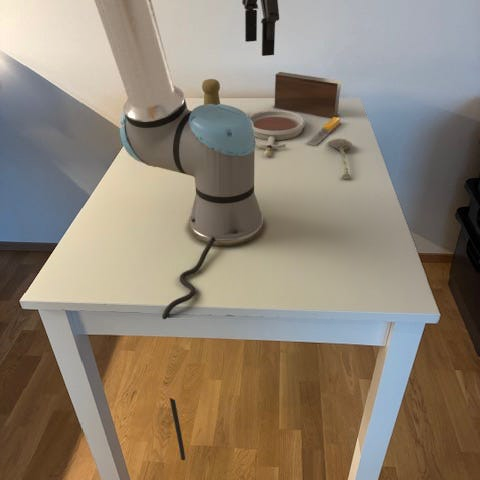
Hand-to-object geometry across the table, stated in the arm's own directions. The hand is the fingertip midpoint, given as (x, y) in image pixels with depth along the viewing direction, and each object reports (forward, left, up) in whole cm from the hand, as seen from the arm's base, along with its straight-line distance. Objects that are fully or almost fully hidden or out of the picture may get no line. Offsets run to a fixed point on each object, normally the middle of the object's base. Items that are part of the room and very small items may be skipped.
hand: (259, 48), depth 115 cm
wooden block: (+31, 0, -24) cm, 39 cm away
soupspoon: (+3, -23, -24) cm, 34 cm away
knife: (+17, -12, -24) cm, 32 cm away
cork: (+12, +22, -24) cm, 35 cm away
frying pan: (+8, 0, -24) cm, 26 cm away
